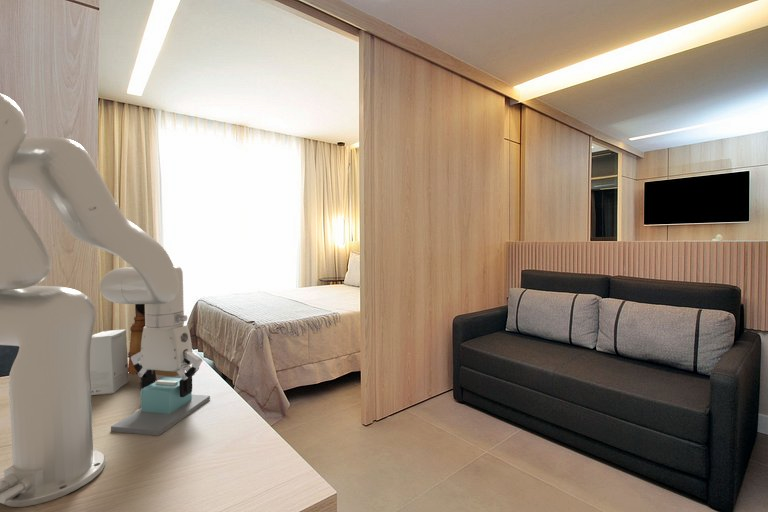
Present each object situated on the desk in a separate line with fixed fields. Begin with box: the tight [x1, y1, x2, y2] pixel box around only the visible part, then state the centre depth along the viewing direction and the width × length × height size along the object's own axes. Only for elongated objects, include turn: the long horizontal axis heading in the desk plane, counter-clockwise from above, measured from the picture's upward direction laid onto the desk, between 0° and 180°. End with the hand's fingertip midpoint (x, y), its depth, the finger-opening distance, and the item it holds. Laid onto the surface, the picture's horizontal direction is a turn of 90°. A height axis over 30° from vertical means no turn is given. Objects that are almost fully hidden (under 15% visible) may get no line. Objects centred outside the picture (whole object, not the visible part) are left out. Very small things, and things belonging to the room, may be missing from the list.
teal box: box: [140, 377, 193, 414], centre depth 81 cm, size 7×7×6 cm
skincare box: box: [90, 329, 130, 396], centre depth 93 cm, size 8×6×15 cm
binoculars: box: [127, 304, 157, 382], centre depth 104 cm, size 18×8×20 cm, turn 57°
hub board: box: [110, 394, 211, 437], centre depth 79 cm, size 16×11×5 cm
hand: (167, 393), depth 81 cm, fingers open, 9 cm apart
